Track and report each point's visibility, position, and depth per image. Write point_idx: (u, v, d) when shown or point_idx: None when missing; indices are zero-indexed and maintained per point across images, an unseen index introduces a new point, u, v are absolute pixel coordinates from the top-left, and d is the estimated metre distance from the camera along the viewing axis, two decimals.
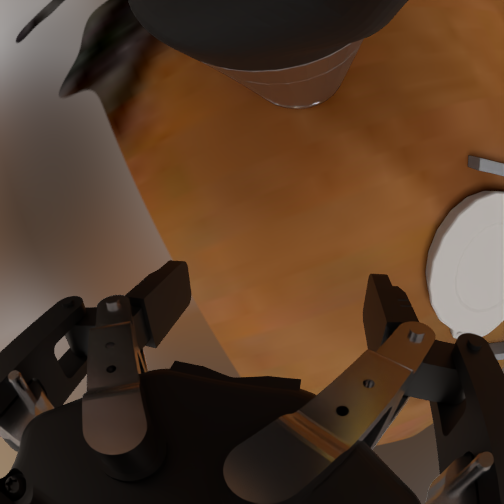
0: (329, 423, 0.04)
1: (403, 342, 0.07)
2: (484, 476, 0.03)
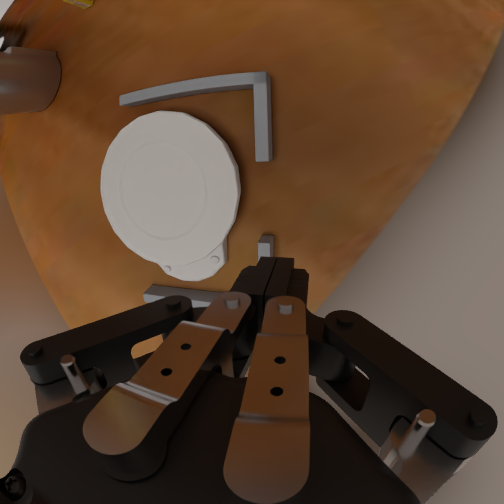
0: (275, 406, 0.05)
1: (279, 317, 0.08)
2: (432, 428, 0.04)
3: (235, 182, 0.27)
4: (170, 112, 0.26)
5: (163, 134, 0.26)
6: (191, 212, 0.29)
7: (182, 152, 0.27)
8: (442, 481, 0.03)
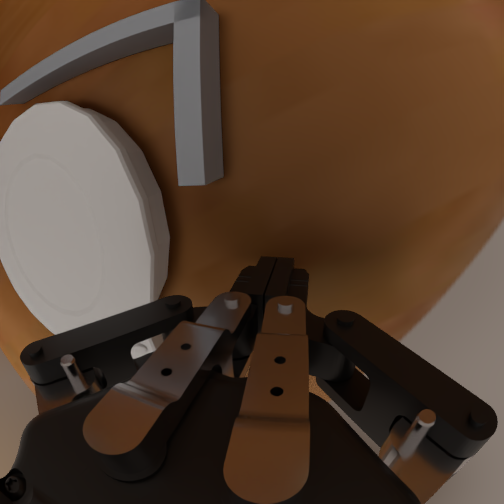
0: (275, 406, 0.05)
1: (279, 317, 0.08)
2: (432, 428, 0.04)
3: (144, 230, 0.13)
4: (46, 104, 0.11)
5: (38, 144, 0.12)
6: (88, 278, 0.15)
7: (62, 174, 0.13)
8: (442, 481, 0.03)
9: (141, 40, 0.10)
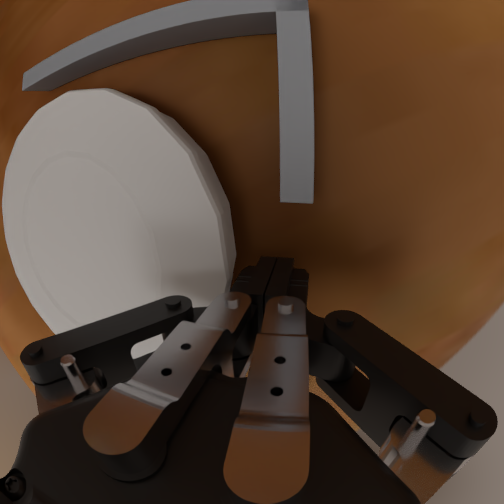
0: (275, 406, 0.05)
1: (279, 317, 0.08)
2: (432, 428, 0.04)
3: (221, 250, 0.11)
4: (84, 91, 0.10)
5: (72, 139, 0.11)
6: (135, 301, 0.14)
7: (106, 177, 0.11)
8: (442, 481, 0.03)
9: (224, 25, 0.09)
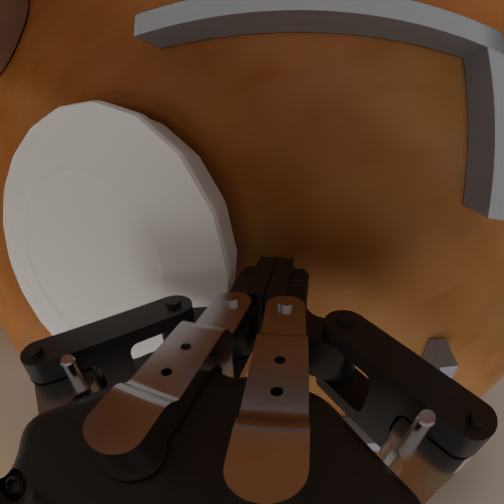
0: (275, 406, 0.05)
1: (279, 317, 0.08)
2: (432, 428, 0.04)
3: (220, 247, 0.12)
4: (74, 105, 0.10)
5: (65, 153, 0.11)
6: None
7: (102, 186, 0.12)
8: (442, 481, 0.03)
9: (435, 37, 0.07)
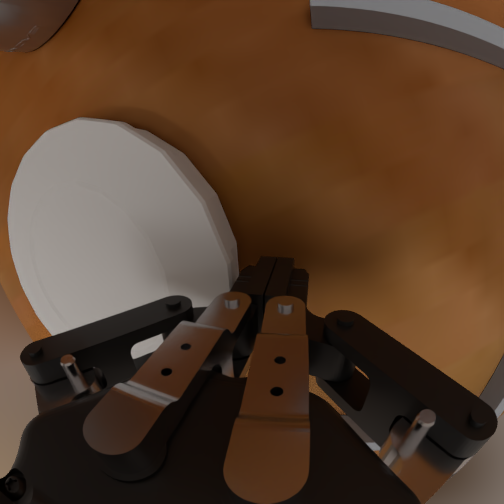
0: (275, 406, 0.05)
1: (279, 317, 0.08)
2: (432, 428, 0.04)
3: (214, 235, 0.11)
4: (60, 126, 0.11)
5: (58, 172, 0.12)
6: None
7: (96, 197, 0.12)
8: (442, 481, 0.03)
9: None
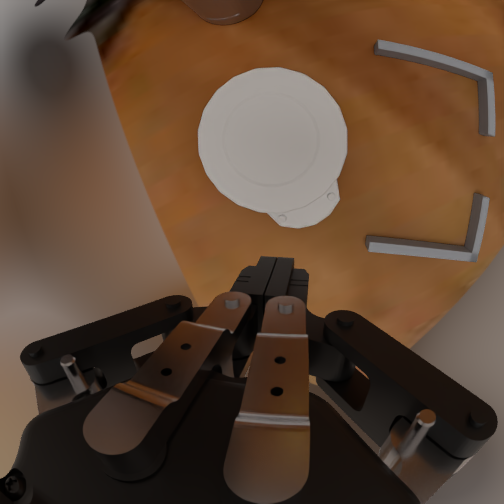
0: (275, 406, 0.05)
1: (279, 317, 0.08)
2: (432, 428, 0.04)
3: (342, 118, 0.28)
4: (268, 68, 0.27)
5: (264, 87, 0.28)
6: (305, 152, 0.30)
7: (287, 100, 0.28)
8: (442, 481, 0.03)
9: (469, 74, 0.22)
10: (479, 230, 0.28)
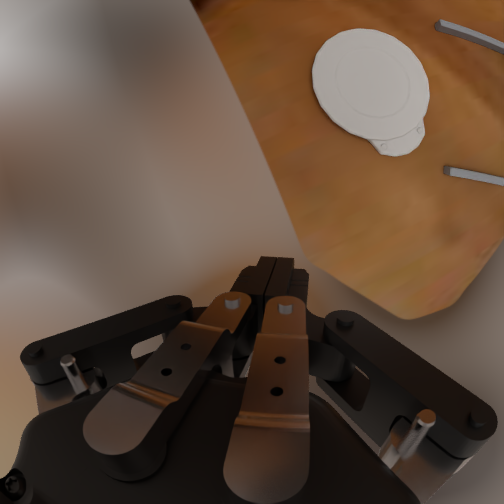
0: (275, 406, 0.05)
1: (279, 317, 0.08)
2: (432, 428, 0.04)
3: (424, 71, 0.29)
4: (366, 29, 0.28)
5: (366, 42, 0.29)
6: (401, 94, 0.31)
7: (384, 54, 0.29)
8: (442, 481, 0.03)
9: (500, 49, 0.23)
10: None
